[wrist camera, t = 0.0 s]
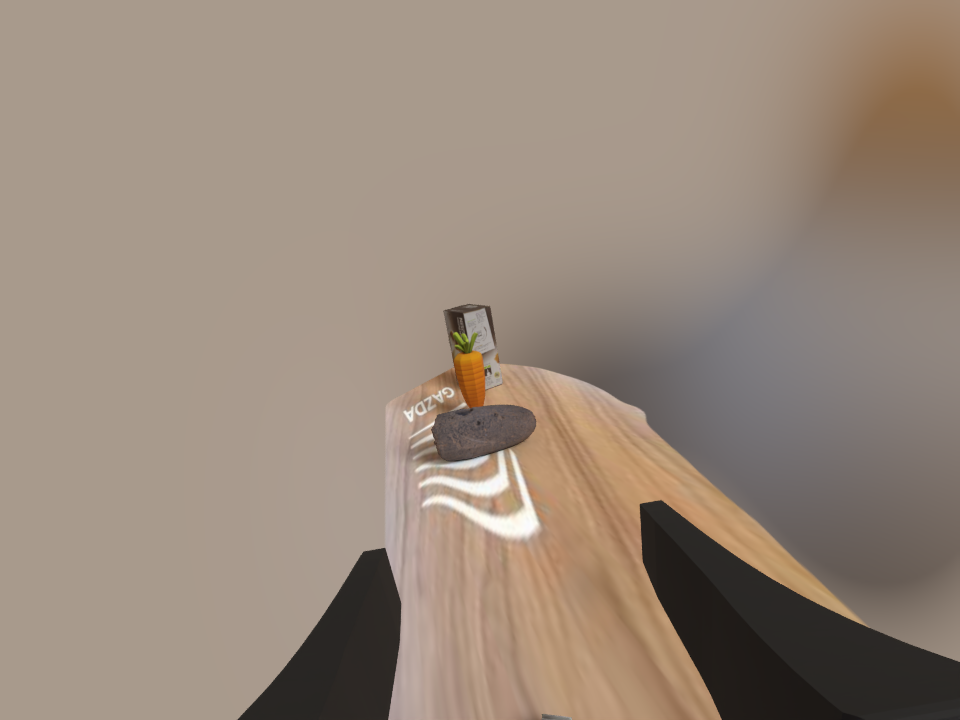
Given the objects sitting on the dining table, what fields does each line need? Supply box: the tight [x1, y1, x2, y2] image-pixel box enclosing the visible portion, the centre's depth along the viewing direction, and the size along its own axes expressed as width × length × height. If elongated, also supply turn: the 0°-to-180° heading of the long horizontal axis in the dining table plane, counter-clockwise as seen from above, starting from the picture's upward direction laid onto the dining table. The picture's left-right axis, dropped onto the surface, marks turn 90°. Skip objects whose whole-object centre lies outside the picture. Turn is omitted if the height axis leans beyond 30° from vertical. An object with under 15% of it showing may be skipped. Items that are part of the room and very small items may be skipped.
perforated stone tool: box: [431, 405, 536, 461], centre depth 67 cm, size 15×5×7 cm, turn 101°
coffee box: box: [443, 304, 503, 390], centre depth 96 cm, size 9×6×16 cm
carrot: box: [453, 332, 485, 408], centre depth 80 cm, size 5×5×15 cm
